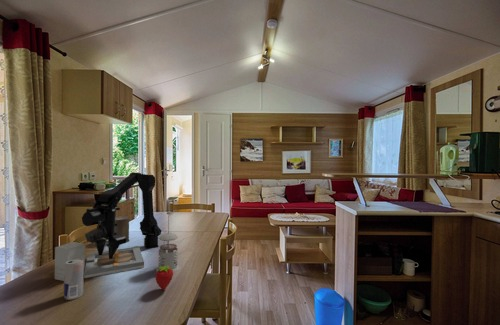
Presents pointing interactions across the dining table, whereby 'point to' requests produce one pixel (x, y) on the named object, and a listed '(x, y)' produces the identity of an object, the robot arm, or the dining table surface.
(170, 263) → the french press
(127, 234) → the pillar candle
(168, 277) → the strawberry
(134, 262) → the dial plate
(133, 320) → the dining table surface
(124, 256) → the dial
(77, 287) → the energy drink
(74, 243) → the supplement box
